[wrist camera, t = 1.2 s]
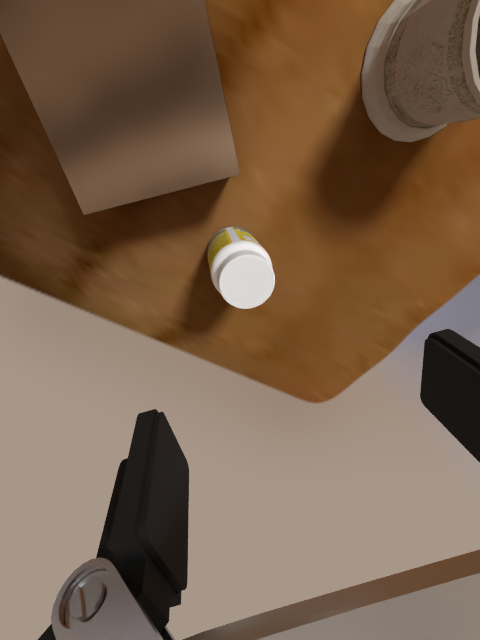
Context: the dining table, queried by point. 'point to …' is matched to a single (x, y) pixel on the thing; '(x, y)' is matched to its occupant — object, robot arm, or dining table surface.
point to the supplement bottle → (240, 268)
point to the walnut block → (124, 94)
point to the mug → (423, 67)
